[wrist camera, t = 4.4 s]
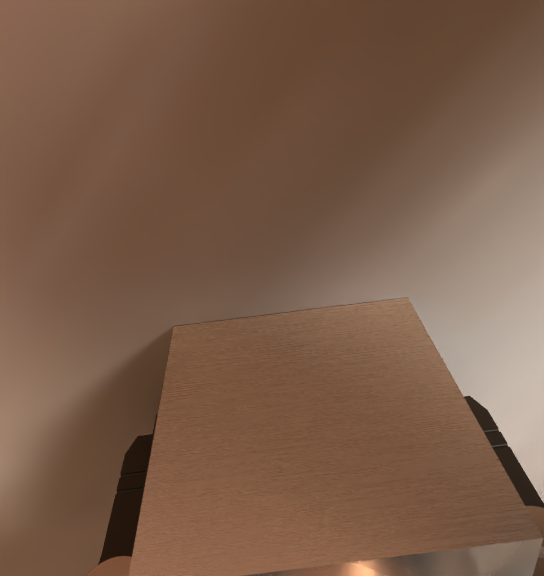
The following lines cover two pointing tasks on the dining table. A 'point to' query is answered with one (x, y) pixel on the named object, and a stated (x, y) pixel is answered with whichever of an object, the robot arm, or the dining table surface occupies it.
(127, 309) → the dining table surface
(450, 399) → the cube with copper knob
